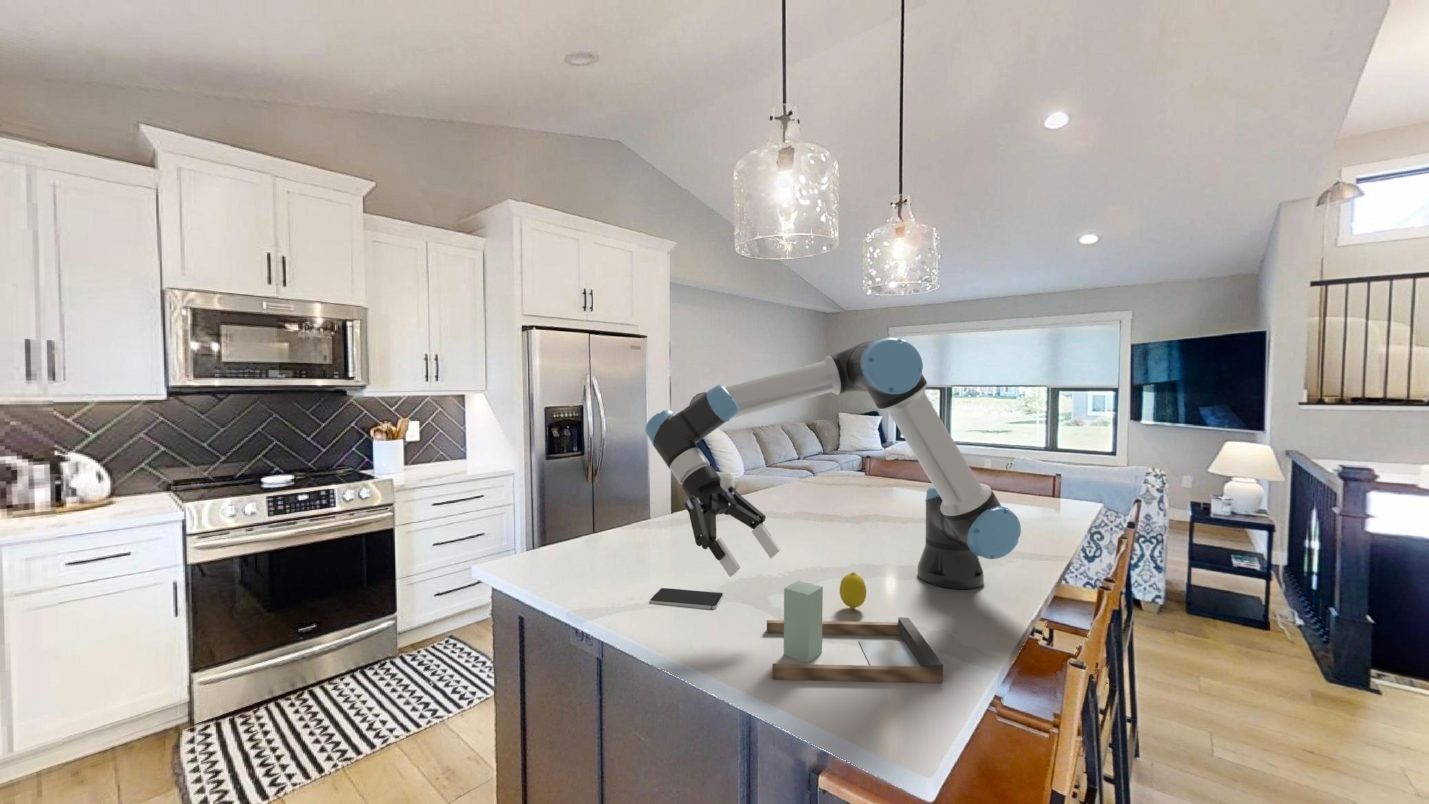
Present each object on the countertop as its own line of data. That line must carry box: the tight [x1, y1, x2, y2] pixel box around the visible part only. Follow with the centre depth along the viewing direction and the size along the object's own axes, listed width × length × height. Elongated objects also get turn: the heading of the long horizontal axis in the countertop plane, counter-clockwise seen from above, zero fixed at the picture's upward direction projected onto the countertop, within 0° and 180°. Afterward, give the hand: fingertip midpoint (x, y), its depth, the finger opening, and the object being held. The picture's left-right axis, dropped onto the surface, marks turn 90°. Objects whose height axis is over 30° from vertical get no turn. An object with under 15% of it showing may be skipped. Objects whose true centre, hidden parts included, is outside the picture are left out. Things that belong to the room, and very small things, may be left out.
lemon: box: [839, 571, 867, 610], centre depth 121 cm, size 6×6×8 cm
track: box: [766, 616, 944, 684], centre depth 101 cm, size 28×18×3 cm, turn 88°
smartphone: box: [649, 587, 724, 610], centre depth 126 cm, size 8×1×15 cm
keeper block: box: [783, 580, 824, 664], centre depth 101 cm, size 5×5×12 cm
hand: (756, 563), depth 107 cm, fingers open, 13 cm apart
